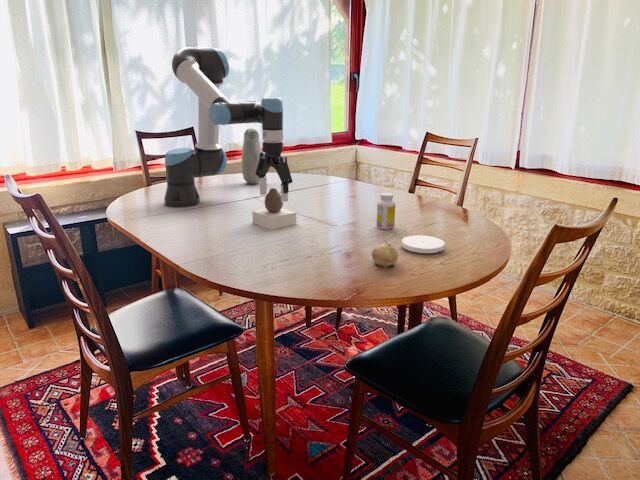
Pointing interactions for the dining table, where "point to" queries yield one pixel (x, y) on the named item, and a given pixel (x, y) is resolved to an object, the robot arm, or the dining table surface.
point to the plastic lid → (422, 244)
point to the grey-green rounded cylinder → (250, 155)
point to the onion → (385, 254)
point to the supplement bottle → (386, 211)
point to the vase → (273, 201)
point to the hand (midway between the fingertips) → (273, 197)
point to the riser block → (274, 218)
